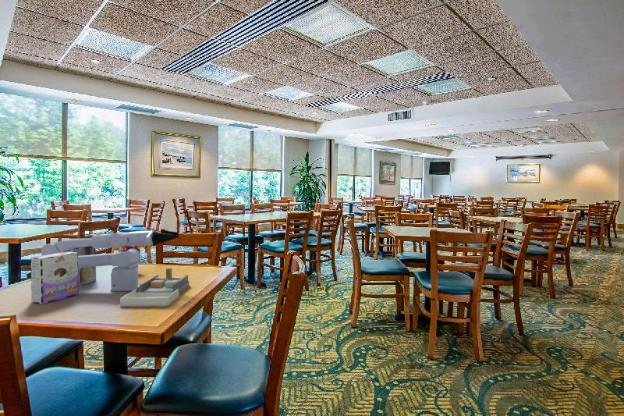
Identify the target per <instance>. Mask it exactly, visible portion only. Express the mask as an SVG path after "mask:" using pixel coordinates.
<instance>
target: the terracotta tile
mask: <svg viewBox="0 0 624 416" xmlns="http://www.w3.org/2000/svg"><path fill="white" fill-rule="evenodd" d="M164 285H165V280H154V281H152V282H151V287H162V286H164Z"/></svg>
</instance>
